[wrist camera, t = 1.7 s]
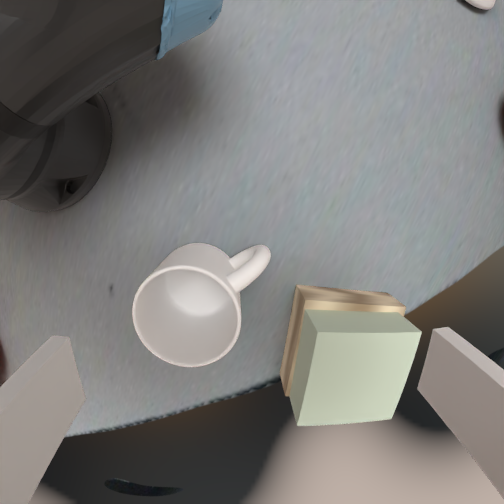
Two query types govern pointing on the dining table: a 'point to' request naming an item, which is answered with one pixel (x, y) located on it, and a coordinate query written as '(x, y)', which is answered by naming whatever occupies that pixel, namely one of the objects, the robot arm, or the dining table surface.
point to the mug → (195, 302)
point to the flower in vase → (482, 3)
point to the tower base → (327, 301)
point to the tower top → (351, 366)
